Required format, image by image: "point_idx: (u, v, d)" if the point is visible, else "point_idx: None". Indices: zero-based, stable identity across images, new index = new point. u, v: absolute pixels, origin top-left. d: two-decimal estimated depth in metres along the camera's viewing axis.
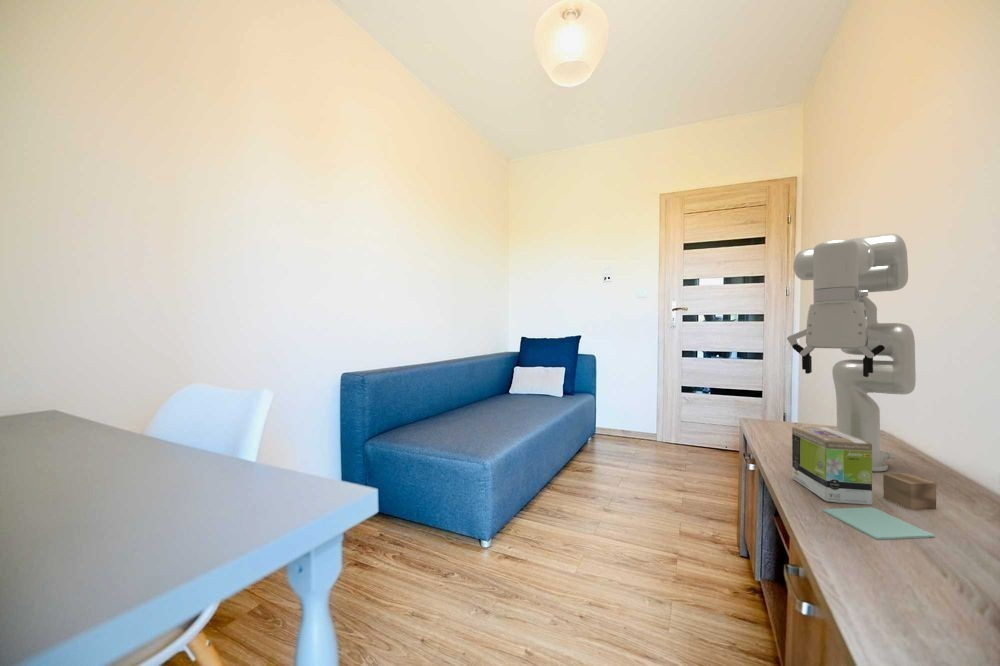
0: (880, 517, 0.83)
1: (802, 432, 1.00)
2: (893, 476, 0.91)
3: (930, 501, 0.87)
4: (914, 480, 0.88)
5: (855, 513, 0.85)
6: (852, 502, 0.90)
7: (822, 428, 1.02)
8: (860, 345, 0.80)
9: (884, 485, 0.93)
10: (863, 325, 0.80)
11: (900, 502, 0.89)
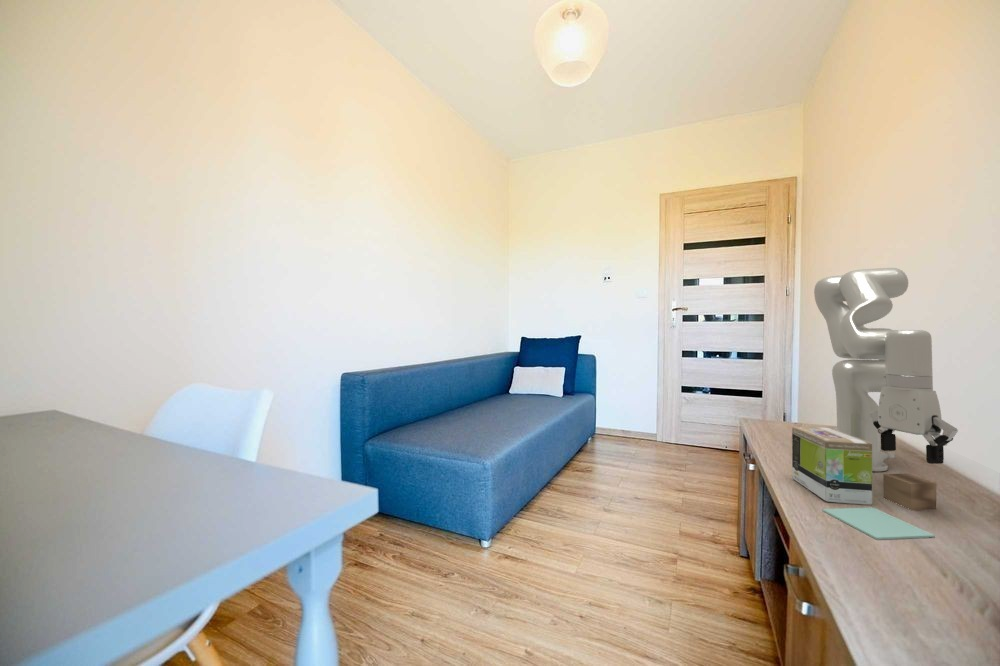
0: (880, 517, 0.83)
1: (802, 432, 1.00)
2: (893, 476, 0.91)
3: (930, 501, 0.87)
4: (914, 480, 0.88)
5: (855, 513, 0.85)
6: (852, 502, 0.90)
7: (822, 428, 1.02)
8: None
9: (884, 485, 0.93)
10: None
11: (900, 502, 0.89)
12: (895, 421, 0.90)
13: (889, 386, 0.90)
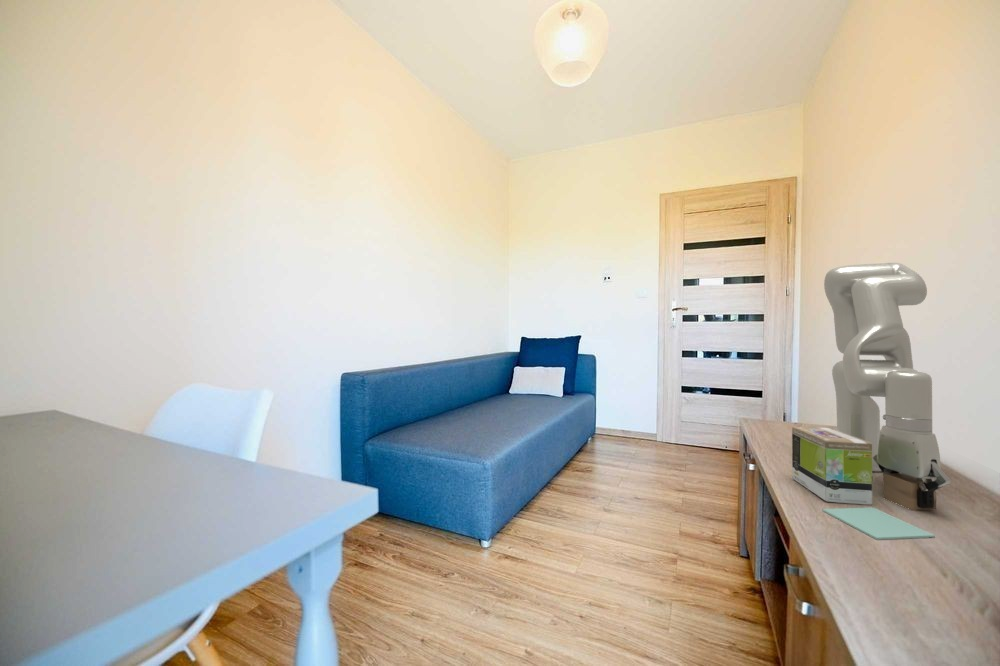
0: (880, 517, 0.83)
1: (802, 432, 1.00)
2: (893, 476, 0.91)
3: None
4: (914, 480, 0.88)
5: (855, 513, 0.85)
6: (852, 502, 0.90)
7: (822, 428, 1.02)
8: None
9: (883, 485, 0.93)
10: None
11: (900, 502, 0.89)
12: (894, 461, 0.90)
13: (889, 427, 0.91)
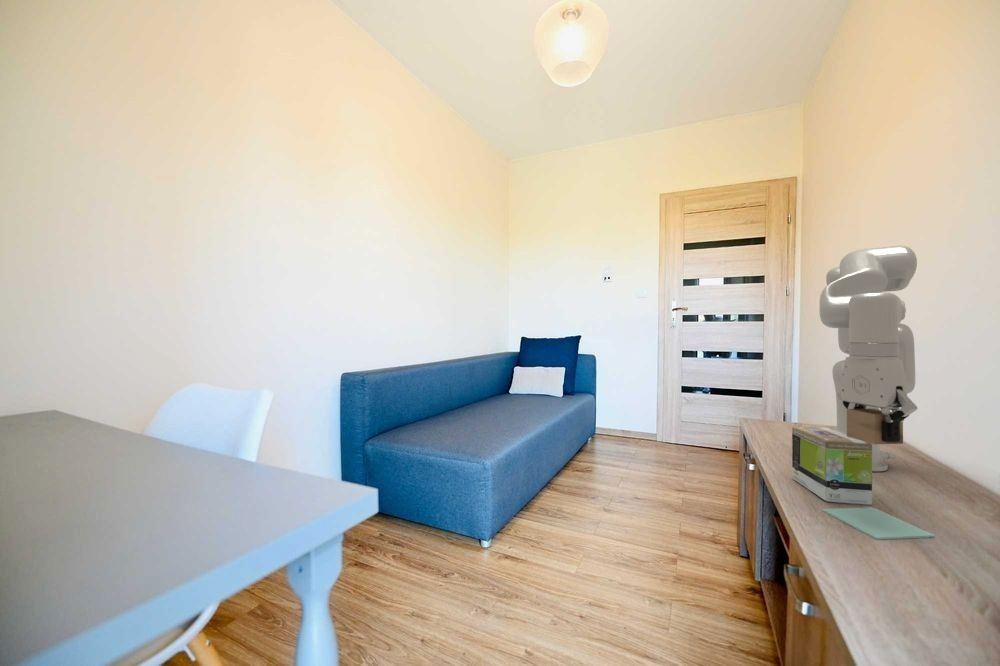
0: (880, 517, 0.83)
1: (802, 432, 1.01)
2: (857, 410, 0.82)
3: None
4: (878, 412, 0.79)
5: (855, 513, 0.85)
6: (852, 502, 0.90)
7: (822, 428, 1.03)
8: None
9: (847, 421, 0.84)
10: None
11: (863, 437, 0.80)
12: (858, 393, 0.81)
13: (852, 355, 0.82)
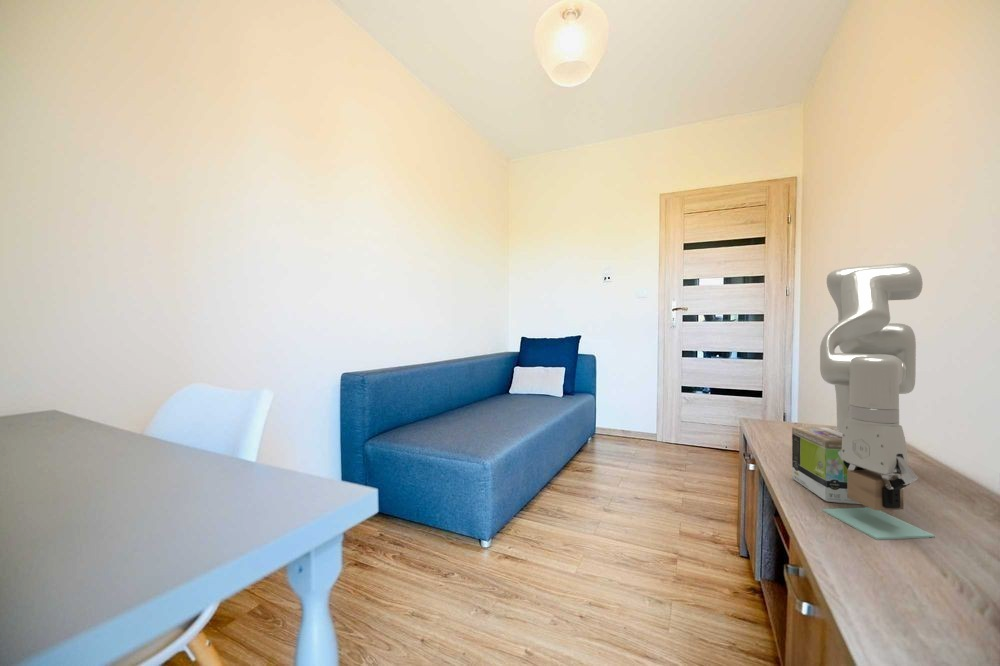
0: (880, 517, 0.83)
1: (802, 432, 1.00)
2: (857, 472, 0.82)
3: None
4: (879, 477, 0.80)
5: (855, 513, 0.85)
6: (852, 502, 0.90)
7: (822, 428, 1.02)
8: None
9: (847, 483, 0.84)
10: None
11: (864, 501, 0.80)
12: (858, 457, 0.81)
13: (852, 418, 0.82)
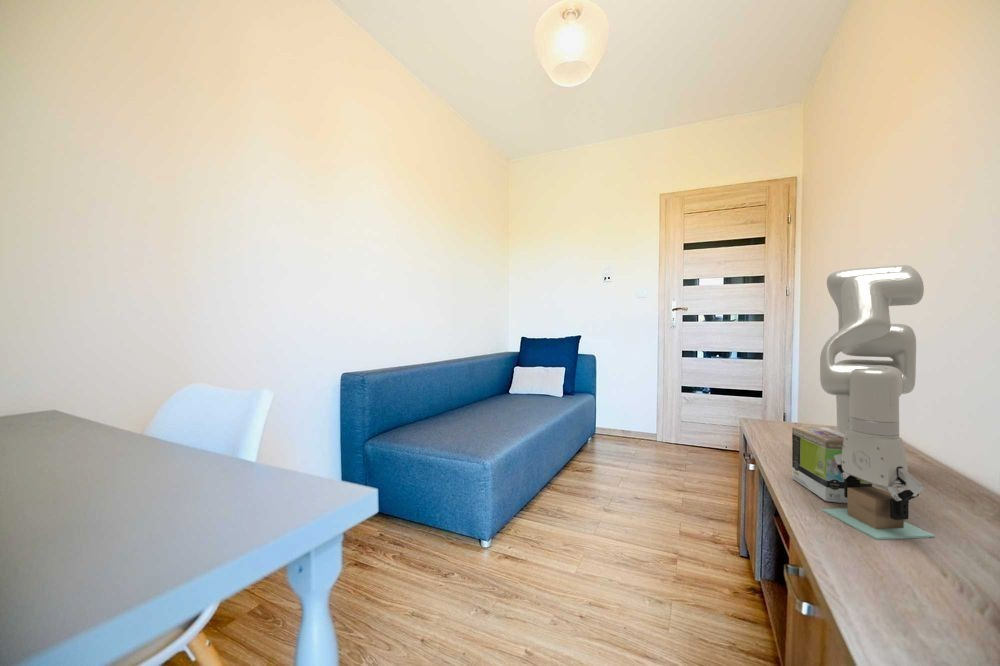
0: None
1: (802, 432, 1.00)
2: (857, 490, 0.82)
3: None
4: (879, 495, 0.80)
5: None
6: None
7: (822, 428, 1.02)
8: None
9: (848, 500, 0.84)
10: None
11: (864, 519, 0.80)
12: (858, 468, 0.81)
13: (852, 430, 0.82)
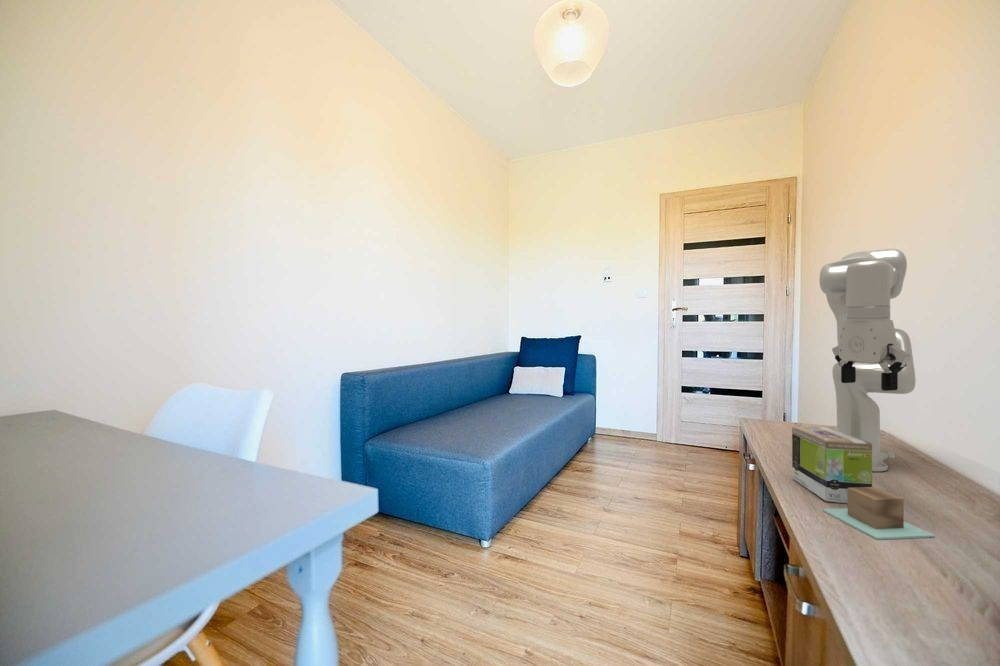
0: None
1: (802, 432, 1.00)
2: (857, 490, 0.82)
3: (897, 519, 0.78)
4: (879, 495, 0.80)
5: None
6: None
7: (822, 428, 1.02)
8: None
9: (848, 500, 0.84)
10: None
11: (864, 519, 0.80)
12: (853, 352, 0.91)
13: (848, 318, 0.91)
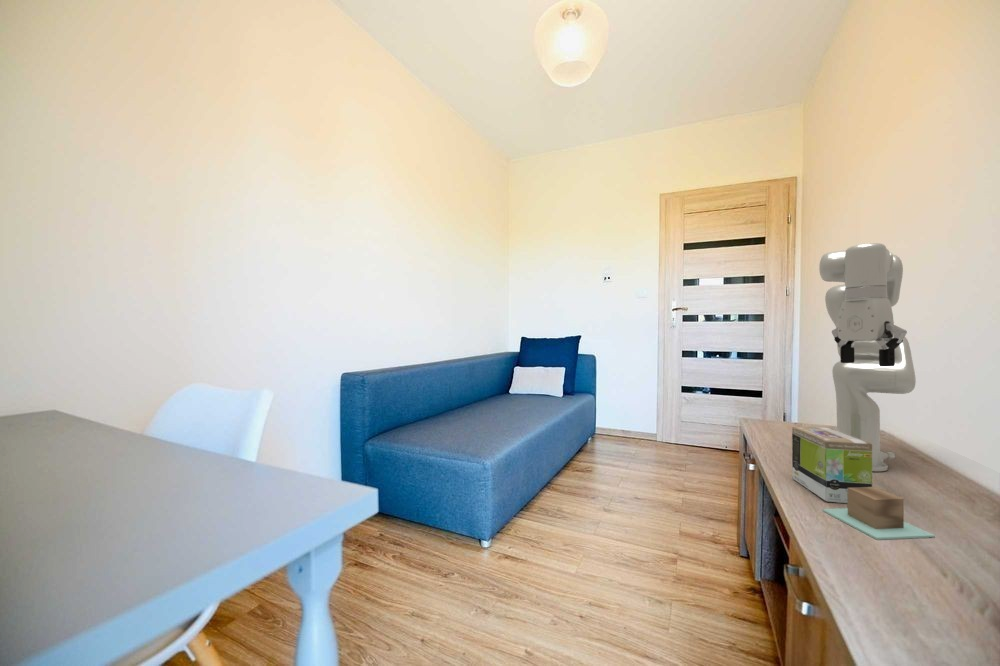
0: None
1: (802, 432, 1.00)
2: (857, 490, 0.82)
3: (897, 519, 0.78)
4: (879, 495, 0.80)
5: None
6: None
7: (822, 428, 1.02)
8: None
9: (848, 500, 0.84)
10: None
11: (864, 519, 0.80)
12: (852, 331, 0.95)
13: (847, 299, 0.95)
